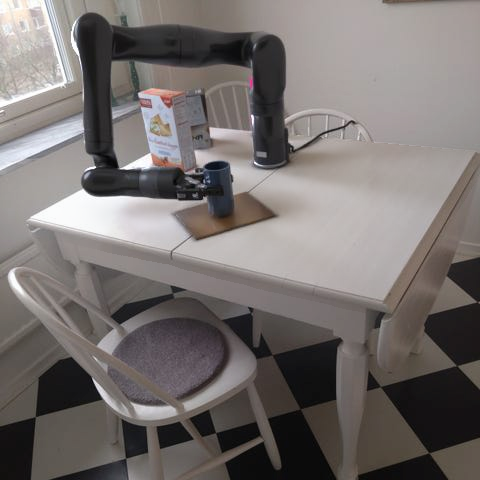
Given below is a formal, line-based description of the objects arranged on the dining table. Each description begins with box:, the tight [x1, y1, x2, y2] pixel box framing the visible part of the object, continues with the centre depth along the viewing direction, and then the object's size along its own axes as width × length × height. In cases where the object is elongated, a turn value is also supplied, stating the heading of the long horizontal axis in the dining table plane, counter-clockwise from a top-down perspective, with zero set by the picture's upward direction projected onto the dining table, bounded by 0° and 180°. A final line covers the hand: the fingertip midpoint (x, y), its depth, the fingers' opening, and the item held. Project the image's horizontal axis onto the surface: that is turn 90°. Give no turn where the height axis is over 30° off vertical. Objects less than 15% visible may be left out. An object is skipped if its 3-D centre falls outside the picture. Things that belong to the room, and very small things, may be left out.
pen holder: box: [202, 160, 235, 216], centre depth 115 cm, size 6×6×11 cm
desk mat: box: [173, 191, 276, 241], centre depth 119 cm, size 20×16×1 cm
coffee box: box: [184, 87, 212, 150], centre depth 158 cm, size 9×6×16 cm
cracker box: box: [137, 87, 198, 173], centre depth 143 cm, size 14×6×21 cm, turn 49°
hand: (228, 184), depth 114 cm, fingers closed on pen holder, 6 cm apart
